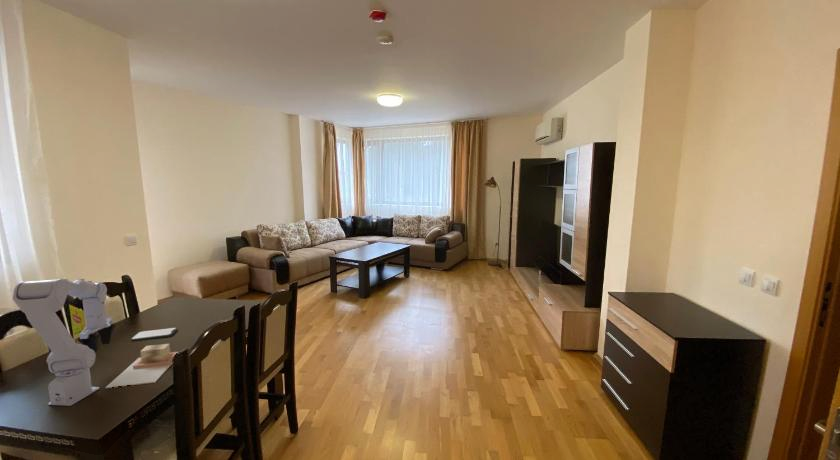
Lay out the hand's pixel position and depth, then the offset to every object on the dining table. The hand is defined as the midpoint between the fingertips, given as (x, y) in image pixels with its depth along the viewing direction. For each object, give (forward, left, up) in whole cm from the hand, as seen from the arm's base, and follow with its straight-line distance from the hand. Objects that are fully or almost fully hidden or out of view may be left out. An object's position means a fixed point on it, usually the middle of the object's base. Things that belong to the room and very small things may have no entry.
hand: (99, 348), depth 125 cm
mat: (+3, -16, -9) cm, 18 cm away
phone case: (+31, +6, -10) cm, 33 cm away
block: (+8, -15, -9) cm, 19 cm away
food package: (+13, +23, -10) cm, 28 cm away
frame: (+8, -15, -9) cm, 19 cm away
